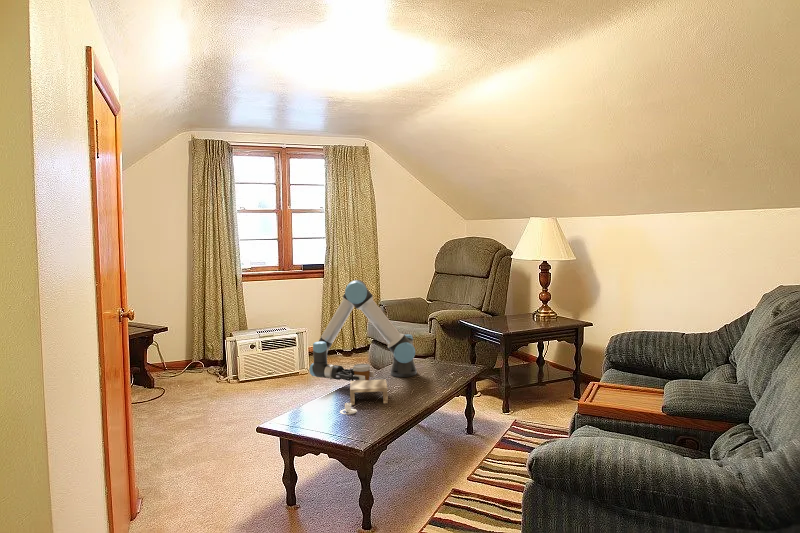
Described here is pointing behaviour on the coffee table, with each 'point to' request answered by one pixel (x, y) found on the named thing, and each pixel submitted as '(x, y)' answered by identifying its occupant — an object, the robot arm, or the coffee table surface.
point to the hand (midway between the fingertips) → (369, 376)
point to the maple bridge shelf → (368, 388)
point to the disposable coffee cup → (362, 370)
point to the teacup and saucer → (348, 409)
